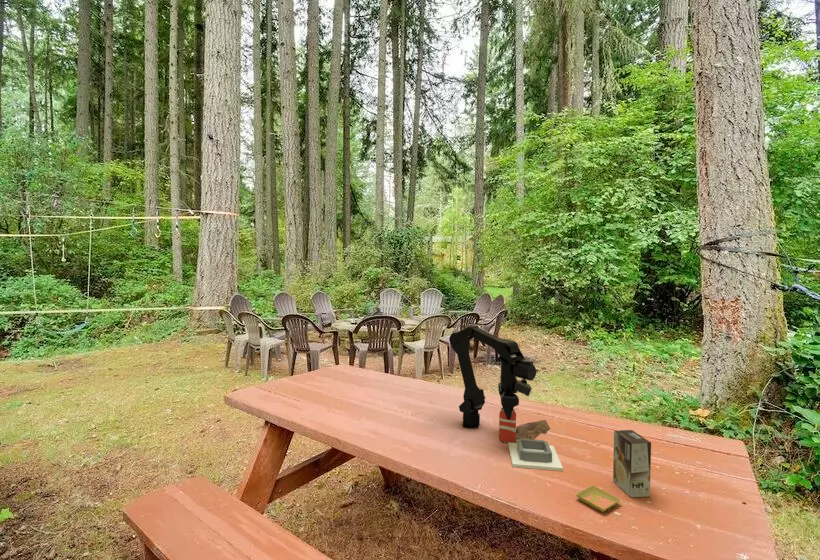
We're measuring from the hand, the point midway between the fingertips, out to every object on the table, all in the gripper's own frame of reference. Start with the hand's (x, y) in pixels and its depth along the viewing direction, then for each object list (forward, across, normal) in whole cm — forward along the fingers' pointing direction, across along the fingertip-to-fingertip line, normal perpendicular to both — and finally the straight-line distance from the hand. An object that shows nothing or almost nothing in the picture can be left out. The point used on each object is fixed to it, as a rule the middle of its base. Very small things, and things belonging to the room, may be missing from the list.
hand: (507, 414), depth 150 cm
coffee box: (+10, -27, -34) cm, 45 cm away
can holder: (+10, -12, -8) cm, 18 cm away
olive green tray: (+10, -36, -22) cm, 44 cm away
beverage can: (+10, 0, 0) cm, 10 cm away
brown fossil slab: (+10, +12, -11) cm, 19 cm away
